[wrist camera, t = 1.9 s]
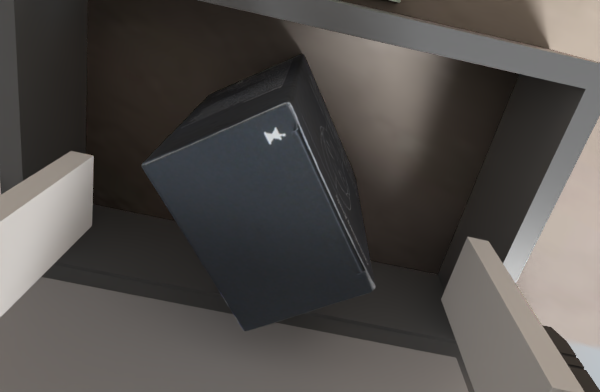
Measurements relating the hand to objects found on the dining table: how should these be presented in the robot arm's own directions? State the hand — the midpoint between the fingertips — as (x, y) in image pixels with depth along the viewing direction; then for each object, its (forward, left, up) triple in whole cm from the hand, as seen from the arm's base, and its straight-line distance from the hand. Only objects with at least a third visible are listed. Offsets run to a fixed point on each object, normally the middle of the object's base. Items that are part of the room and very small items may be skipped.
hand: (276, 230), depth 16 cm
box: (0, 0, -11) cm, 11 cm away
